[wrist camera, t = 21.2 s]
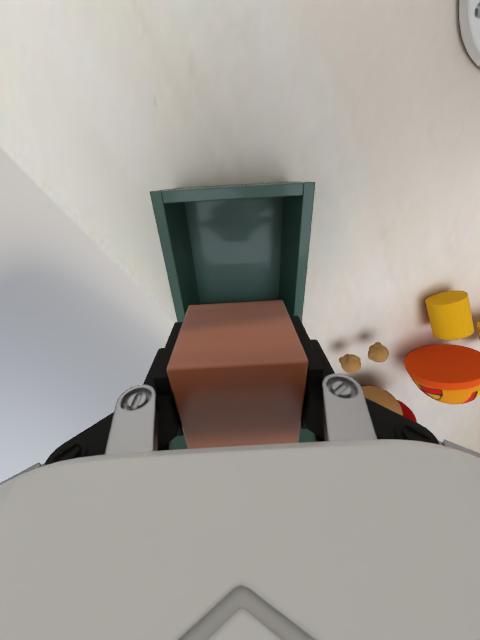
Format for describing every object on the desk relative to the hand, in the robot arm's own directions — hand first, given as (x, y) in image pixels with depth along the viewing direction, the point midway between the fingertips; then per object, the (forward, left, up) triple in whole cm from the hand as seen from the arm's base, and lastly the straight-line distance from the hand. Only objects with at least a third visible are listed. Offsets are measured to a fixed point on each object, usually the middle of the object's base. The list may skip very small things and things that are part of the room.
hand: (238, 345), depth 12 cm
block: (0, 0, 0) cm, 0 cm away
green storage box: (0, 0, -18) cm, 18 cm away
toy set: (+17, +24, -18) cm, 35 cm away
